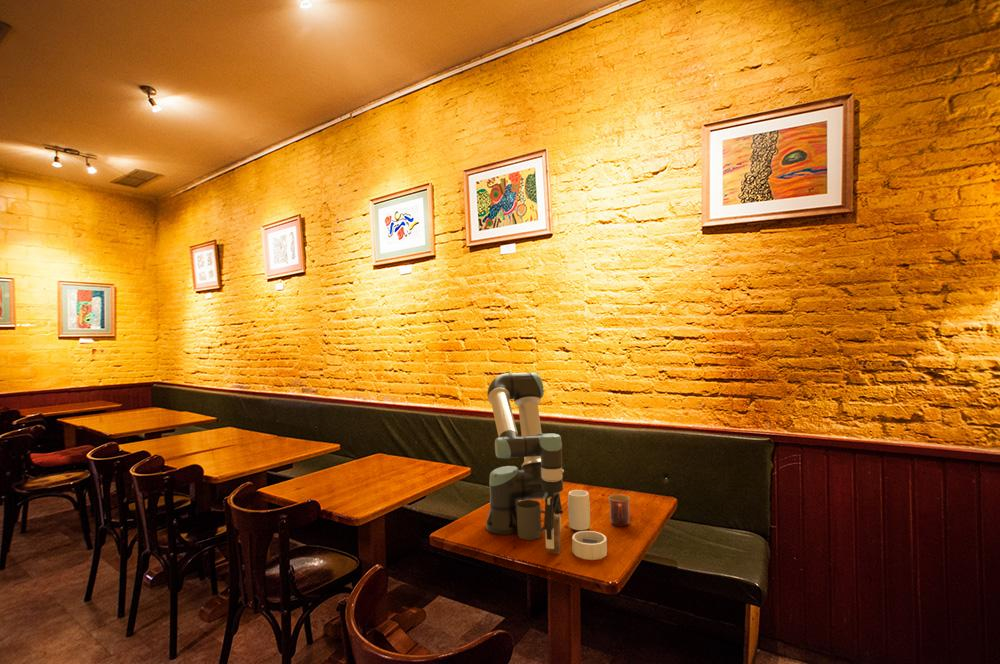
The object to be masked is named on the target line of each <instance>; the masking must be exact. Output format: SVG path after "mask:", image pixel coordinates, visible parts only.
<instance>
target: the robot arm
mask: <svg viewBox="0 0 1000 664" xmlns="http://www.w3.org/2000/svg"><path fill="white" fill-rule="evenodd" d="M544 391H545V390H544V384H543V381H542V378H541V376H540V375H539V373H536V372H530V371H527V372H509V373H507V372H506V373H501V374H499V375H497V376H496V377H495V378H493V380H492V381H491V382H490V383H489V386H488V388H487V391H486V392H487V393H486V395H487V400H488V402H489V404H490V405H491V408H492V413H493V416H494V417H493V418H494V421H495V422H494V423H495V427H496V431H497V435H498V437H496V438H495V440H494V451H495V456H496V458H498V459H513V458H514V459H515V458H523V459H524V461H523V463H522V464H521V469H519V467H517V466H515V465H505V466H500V467H497V468H495V469H493V470H492V471H491V472H490V474H489V483H488V485H489V505H490V506H489V507H490V508H489V510H488V515H487V518H486V523H485V524H486V525H485V526H486V530H487V531H488V532H489V533H492V534H493V535H501V536H502V535H503V536H505V535H507V536H508V535H514V534H518V531H517V503H518V502H520V501H523V500H543V499H544V502H545V504H544V511H545V514H544V521H543V526H542V528H543V529H545V531H544V532H545V549H548V548H550V549H554V528H553V521H554V516H556V517H559V519H560V534H561V533H562V523H561V522H562V521H561V519H562V518H561V516H562V515H561V514H563V513H564V511H563V510H562V501H561V495H560V493H561V492H563V490H564V481H563V473H565V470H564V469H563V442H562V437H561V435H560V434H558V433H545V432H544V433H542V432H543V431H542V427H541V426H542V425H541V419H540V418H541V417H540V411H539V404H540V403H541V402H542V398H544V393H545V392H544ZM510 400H513V401H514V405H515V406H516V407H518V415H519V422H520V423H519V424H520V432H521V435H519V433H518V429H517V425H516V421H515V417H514V414H513V409H512V406H511V403H510ZM547 525H549V526H547Z"/></svg>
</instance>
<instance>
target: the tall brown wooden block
mask: <svg viewBox="0 0 1000 664" xmlns="http://www.w3.org/2000/svg"><path fill="white" fill-rule="evenodd" d="M547 526H549V525H547ZM553 528H554V549H550V548H547V553H548V554H553V555H560V554H561V533H560V519H559V517H556V516H554V521H553Z"/></svg>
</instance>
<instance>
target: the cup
mask: <svg viewBox="0 0 1000 664" xmlns="http://www.w3.org/2000/svg"><path fill="white" fill-rule="evenodd" d="M567 498H568V499H567V511H568V524H569V527H570V529H572V530H575V531H587V530H588V529H590V527H591V505H590V504H591V502H590V494H589V492H588V491H587V490H581V489H574V490H570V491H569V492H568V496H567Z"/></svg>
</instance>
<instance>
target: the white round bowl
mask: <svg viewBox="0 0 1000 664" xmlns="http://www.w3.org/2000/svg"><path fill="white" fill-rule="evenodd" d="M571 541H572V542H571V548H572V553H573V554H574V556H575V557H577V558H579V559H582V560H587V561H588V560H590V561H594V560H602V559H603V558H605V557H607V553H608V540H607V536H606V535H604V534H603V533H601V532H599V531H595V530H579V531H576V532H575V533H573V534H572V537H571Z"/></svg>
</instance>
